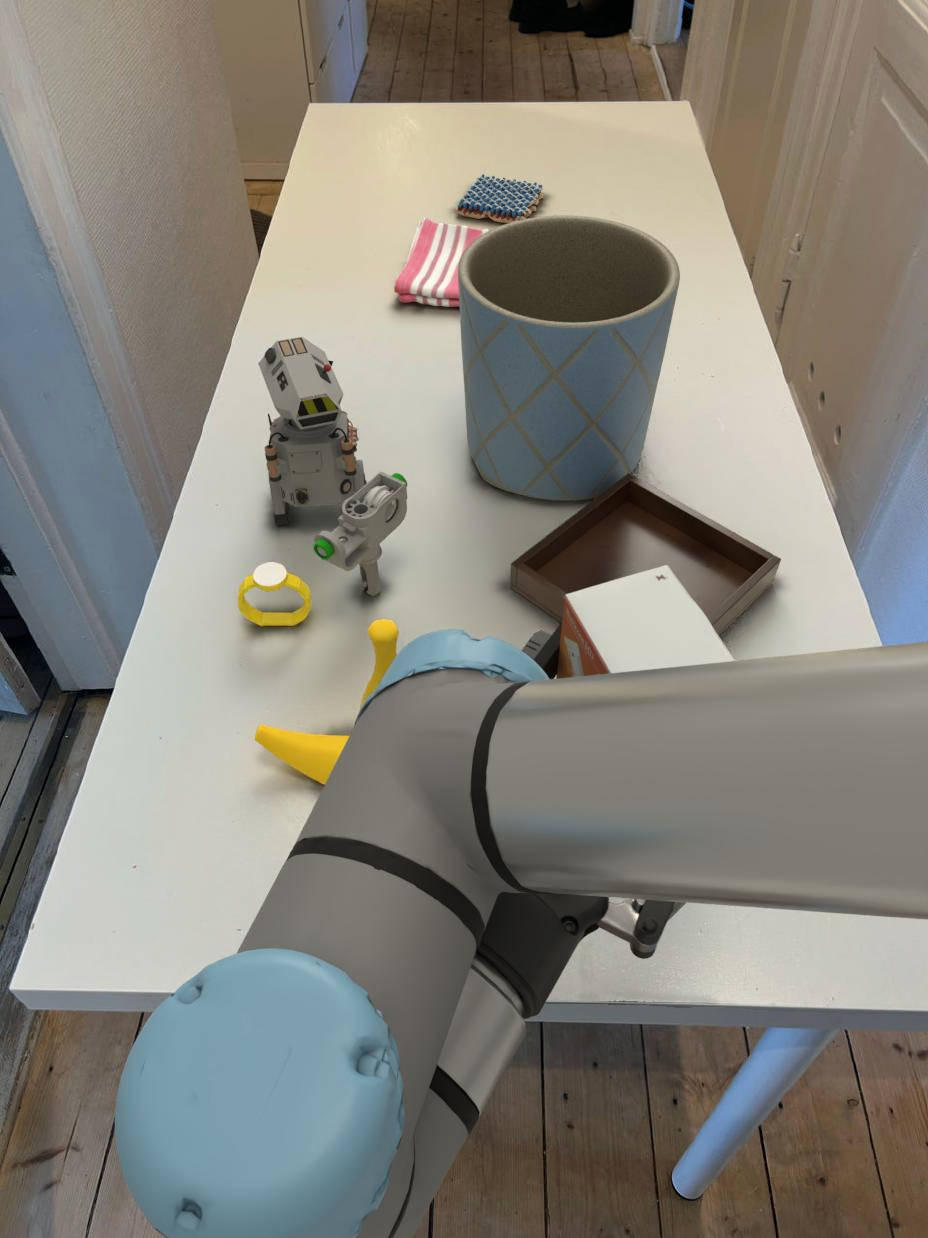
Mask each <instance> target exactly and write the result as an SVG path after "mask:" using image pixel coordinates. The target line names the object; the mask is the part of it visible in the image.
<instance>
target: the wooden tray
mask: <svg viewBox="0 0 928 1238" xmlns="http://www.w3.org/2000/svg"><path fill="white" fill-rule="evenodd" d="M781 562H782V559H781V558H780V557H779V556H776V555H775V554H773V553H772V552H769V551H768V550H767V549H765V548H763V547H761V546H759V545H757V544H756V543H754V542H752V541H750V540H748V539H746V538H745V537H743V536H741V535H740V534H738V533H736V532H735V531H733V530H731V529H729V528H727V527H725V526H724V525H722V524H721V523H718V521H715V520H714V519H711V518H709V517H708V516H706V515H704V514H703V513H701V512H700V511H698V510H695V509H693V508H692V507H690V506H689V505H687V504H685V503H683V502H681V501H680V500H678V499H676V498H675V497H672V496H671V495H669V494H667V493H666V492H663V491H662V490H660V489H658V488H656V487H654V486H653V485H651V484H650V483H648V482H646V481H644V480H642V479H640V477H637V476H635V475H633V474H631V473H628V474H627V475H625V476H624V477H623V478H621V479H620V480H619V481H618V482H616V483H615V484H614V485H612V486H611V487H610V488H608V489H607V490H606V491H605V492H603V493H602V494H601V495H599V496H598V497H597V498H593V499H592V500H591V501H590V502H589V503H588V504H586V505H585V506H583V508H581V509H580V510H579V511H577V512H576V513H574V514H573V515H572V516H571V517H569V518H568V519H567V520H565V521H564V522H563V523H562V524H560V525H559V526H558V527H556V528H555V529H554V530H552V531H551V532H550V533H548V534H547V535H546V536H545V537H543V538H542V539H541V540H539V541H538V542H537V543H535V544H534V545H533V546H532V547H530V548H529V549H527V551H525V552H524V553H523V554H521V555H520V556H518V557H517V558H516V559H515V560H513V561H512V562H511V563H510V577H509V578H510V579H509V588H510V589H512V590H513V591H515V592H516V593H518V594H519V595H520V596H522V597H523V598H525V599H526V600H528V601H529V602H530V603H532V604H533V605H535V606H536V607H538V608H539V609H541V610H542V611H543V612H545V613H546V614H548V615H549V616H551V617H552V618H553V619H555V620H556V621H558V623H561V622H562V620H563V610H564V600H565V595H566V594H569V593H573V592H576V591H579V590H582V589H586V588H589V587H592V586H596V585H599V584H602V583H606V582H609V581H612V580H616V579H619V578H623V577H626V576H629V575H633V574H636V573H640V572H643V571H647V570H651V569H655V568H658V567H662V566H665V565H668V566H669V567H670V569H671V570H672V572H673V573H674V575H675V576H676V577H677V579H678V580H679V581H680V583H681V584H682V585H683V587H684V588H685V590H686V591H687V592H688V594H689V595H690V597H691V598H692V599H693V600H694V601H695V602H696V604H697V605H698V606H699V607H700V609H701V610H702V611H703V613H704V614H705V615H706V617H707V618H708V620H709V622H710V623H711V625H712V627H713V628H714V630H715V631H716V633H717V634H718V636H719V637H720V636H721V634H722V633H723V632H725V630H726V629H728V628H729V626H731V624H732V623H734V622H735V621H736V620H737V619H738V617H740V616H741V615H742V614H743V613H744V612H745V611H746V610H747V609H748V608H749V607H750V606H751V605H752V604H754V602H755V601H757V599H758V598H759V597H760V596H761V595H763V593H764V592H766V590H767V589H769V588H770V587H771V586H772V585H773V583H774V581H775V578H776V575H777V573H778V569H779V567H780V564H781Z"/></svg>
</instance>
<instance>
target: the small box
mask: <svg viewBox="0 0 928 1238" xmlns="http://www.w3.org/2000/svg"><path fill="white" fill-rule="evenodd" d="M729 661H736V659H735V658H734V656H733V655H732V653H731V652H730V650H729V649H728V647H727V646H726V644H725V643H724V642H723V640H722V639H721V637H720V635H719V636H718V634H717V633H716V631H715V630H714V628H713V627H712V625H711V623H710V622H709V620H708V618H707V617H706V615H705V614H704V613H703V611H702V610H701V609H700V607H699V606H698V605H697V604H696V602H695V601H694V600H693V599H692V598H691V597H690V595H689V594H688V592H687V591H686V590H685V588H684V587H683V585H682V584H681V583H680V581H679V580H678V579H677V577H676V576H675V575H674V573H673V572H672V570H671V569H670V567H669V566H668V565H665V566H662V567H658V568H655V569H651V570H647V571H643V572H640V573H636V574H633V575H629V576H626V577H623V578H619V579H616V580H612V581H609V582H606V583H602V584H599V585H596V586H592V587H589V588H586V589H582V590H579V591H576V592H573V593H569V594H566V595H565V600H564V610H563V620H562V629H561V638H560V648H559V657H558V667H557V675H556V676H555V679H559V678H569V677H579V676H589V675H599V674H609V673H619V672H629V671H639V670H649V669H659V668H669V667H679V666H689V665H699V664H709V663H719V662H729Z"/></svg>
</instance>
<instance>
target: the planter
mask: <svg viewBox="0 0 928 1238" xmlns="http://www.w3.org/2000/svg"><path fill="white" fill-rule="evenodd" d="M489 230H490V231H488V232H486V233H484V234H483V235H481V236H480V237H478V238H477V239H475V240H474V241H473V242H472V243H471V244H470V245H469V246H468V247H467V248H466V249H465V251H464V252H463V254H462V256H461V258H460V261H459V265H458V285H459V305H460V306H459V321H460V325H459V326H460V343H461V356H462V357H461V359H462V360H461V361H462V372H463V375H462V376H463V391H464V408H465V423H466V438H467V440H466V441H467V445H468V449H469V453H470V456H471V458H472V461H473V462H474V464H475V466H476V468H477V471H478V473H479V474H480V477H481V478H482V479H483V480H484V481H485V482H486V483H487V484H489V485H491V486H493V487H494V488H497V489H500V490H503V491H506V492H509V493H512V494H515V495H520V496H523V497H527V498H533V499H539V500H548V501H581V500H582V501H583V500H594V499H595V498H597V497H598V496H599V495H601V494H602V493H603V492H605V491H606V490H607V489H608V488H610V487H611V486H612V485H614V484H615V483H616V482H618V481H619V480H620V479H621V478H623V477H624V476H625V475H627V474H628V473H630V474H631V473H632V472H633V471H634V470H635V469H636V467H637V465H638V464H639V462H640V459H641V457H642V454H643V450H644V447H645V443H646V439H647V433H648V429H649V424H650V421H651V416H652V411H653V406H654V402H655V399H656V398H655V397H656V392H657V387H658V384H659V379H660V375H661V371H662V367H663V361H664V358H665V352H666V350H667V349H666V348H667V344H668V338H669V333H670V328H671V324H672V320H673V314H674V310H675V305H676V301H677V296H678V291H679V287H680V286H679V285H680V281H681V271H680V266H679V263H678V261H677V259H676V257H675V255H674V254H673V253H672V251H671V250H670V249H669V248H668V247H667V246H666V245H665V244H663V243H662V242H661V241H660V240H658V239H657V238H655V237H653V236H652V235H650V234H648V233H646V232H644V231H642V230H640V229H637V228H635V227H633V226H631V225H628V224H624V223H620V222H617V221H613V220H609V219H605V218H599V217H594V216H593V217H592V216H584V215H567V214H566V215H564V214H563V215H561V214H560V215H545V216H534V217H529V218H528V217H527V219H523V220H519V221H515V222H511V223H504V224H502V225H499V226H496V227H494V228H493V229H489Z"/></svg>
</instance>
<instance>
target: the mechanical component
mask: <svg viewBox="0 0 928 1238" xmlns="http://www.w3.org/2000/svg"><path fill="white" fill-rule="evenodd" d="M407 487H408V481H407V479H406V478H405V477H404V476H403V475H402V474H400V473H398V472H394V473H393V474H392V475H390V474H388V473H385V472H383V471H379V472H378V473H377V474H376V475H374V477H372V478H371V479H370V480H369V481H368V482H367V484H366V485H365V486H363V487H362V488H361V489H360V490H359V491H358V492H357V493H355V494H354V495H353V496H351V497H349V498H348V499H346V500H344V501H343V502H342V506H341V509H342V514H341V515H339V517H338V518H337V520H338V526H336V527H335V528H334V529H333V530H332V531H328V530H322V531H320V532H319V533H318V534H317V535H316V536H315V538H314V544H313V545H312V549H313V551H314V553H315V554H316V556H317V557H318V558H320V559H321V560H324V561H325V562H327V563H330V564H332V565H333V566H335V567H337V568H339V569H341V570H343V571H345V572H350V571H352V570H354V569H355V568H356V567H357V566H359V567H358V568H359V573H360V574H359V575H360V580H361V589H362V591H365V590H366V589H367V590H366V593H367V594H368V595H369V596H372V597H375V596H377V595H378V594H379V593H380V592H381V582H380V575H379V574H380V573H379V566H378V561H379V559H380V558H381V557H382V555H383V549H382V547H381V543H382V542H384V540H386V538H388V537H389V536H390V535H391V534H392V533H393V532H394V531H395V530H397V528H398V527H399V526H400V525H401V524H402V523H403V521H404V520H405V517H406V515H407V511H408V505H407V504H408V503H407V500H408V490H407V489H408V488H407ZM366 493H367V494H366ZM364 496H365V497H364ZM362 502H363V503H362Z"/></svg>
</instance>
